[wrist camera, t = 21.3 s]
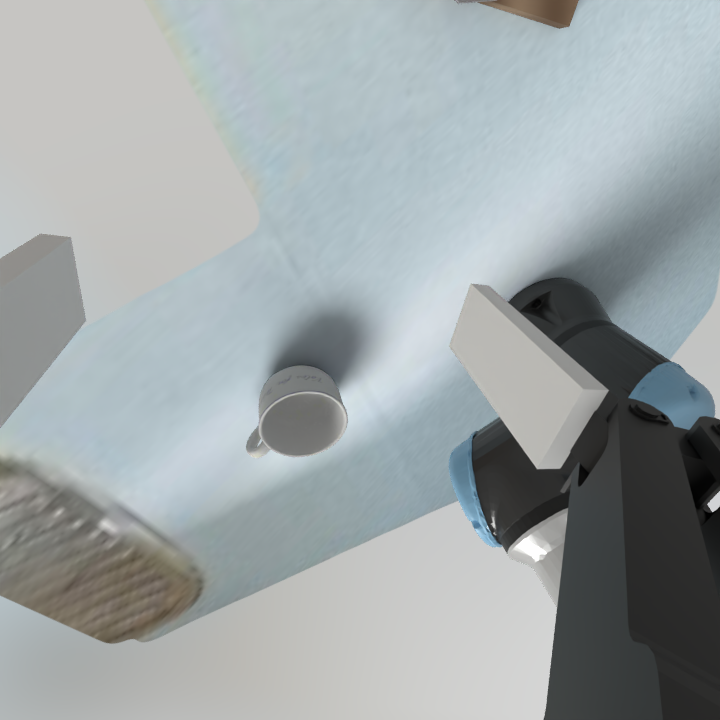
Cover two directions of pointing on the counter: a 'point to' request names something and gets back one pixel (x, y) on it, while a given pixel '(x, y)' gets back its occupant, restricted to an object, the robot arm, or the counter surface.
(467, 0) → the can
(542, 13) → the walnut board
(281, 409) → the teacup
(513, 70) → the counter surface
